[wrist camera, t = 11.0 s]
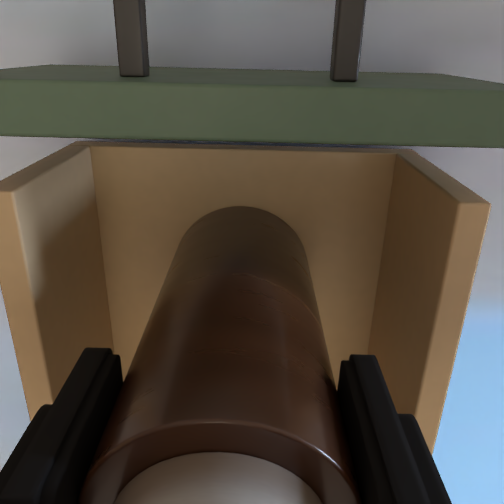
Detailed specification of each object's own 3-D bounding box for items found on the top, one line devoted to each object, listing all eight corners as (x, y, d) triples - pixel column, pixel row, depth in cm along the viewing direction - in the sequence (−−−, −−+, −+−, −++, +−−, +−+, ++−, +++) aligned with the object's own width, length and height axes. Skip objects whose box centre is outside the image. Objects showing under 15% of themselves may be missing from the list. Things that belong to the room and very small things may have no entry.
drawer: (17, -148, 14) (-184, -310, 7) (479, -139, 14) (664, -294, 7) (98, 416, 22) (36, 560, 16) (381, 423, 22) (429, 571, 16)
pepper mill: (172, 203, 17) (7, 504, 6) (311, 207, 17) (413, 515, 6) (178, 322, 19) (64, 713, 8) (302, 326, 19) (364, 723, 8)
